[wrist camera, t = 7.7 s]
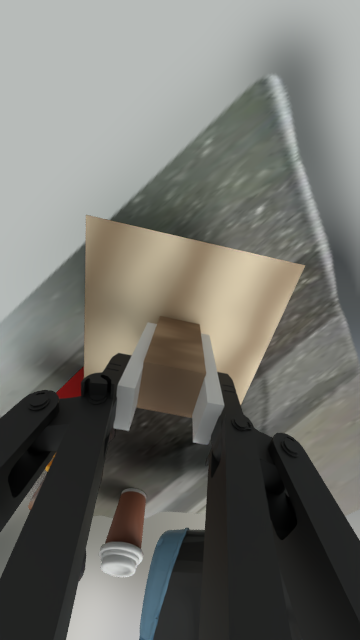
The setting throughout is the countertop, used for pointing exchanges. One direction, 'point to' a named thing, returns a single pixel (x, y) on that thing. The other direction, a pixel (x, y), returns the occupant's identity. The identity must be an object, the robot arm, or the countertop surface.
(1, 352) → the countertop surface
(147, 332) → the robot arm
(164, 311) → the lid
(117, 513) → the coffee cup
